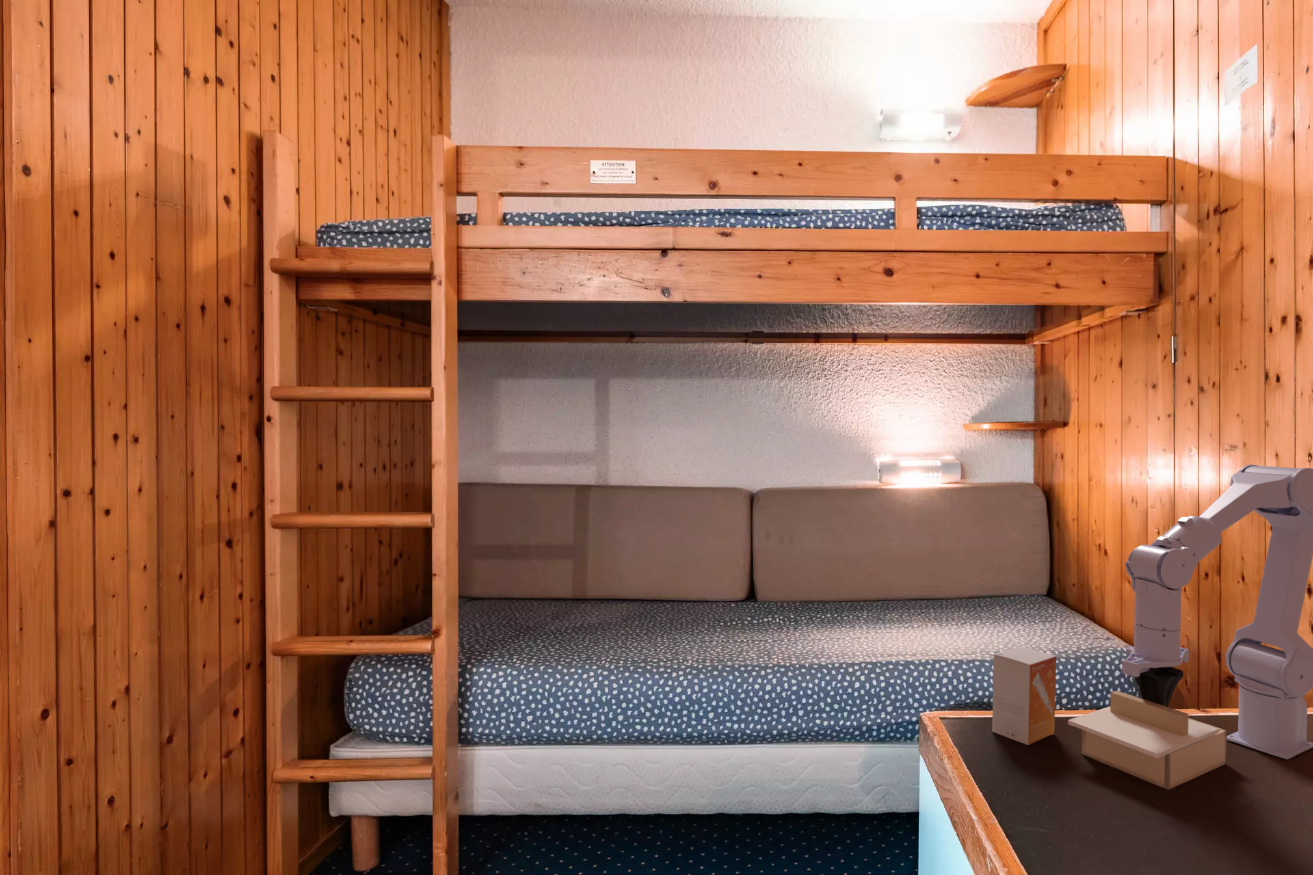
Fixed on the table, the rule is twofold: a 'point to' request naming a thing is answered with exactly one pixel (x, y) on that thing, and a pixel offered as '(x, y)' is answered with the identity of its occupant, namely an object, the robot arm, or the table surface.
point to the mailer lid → (1143, 725)
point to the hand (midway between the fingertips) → (1155, 714)
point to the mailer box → (1160, 758)
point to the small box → (1024, 694)
